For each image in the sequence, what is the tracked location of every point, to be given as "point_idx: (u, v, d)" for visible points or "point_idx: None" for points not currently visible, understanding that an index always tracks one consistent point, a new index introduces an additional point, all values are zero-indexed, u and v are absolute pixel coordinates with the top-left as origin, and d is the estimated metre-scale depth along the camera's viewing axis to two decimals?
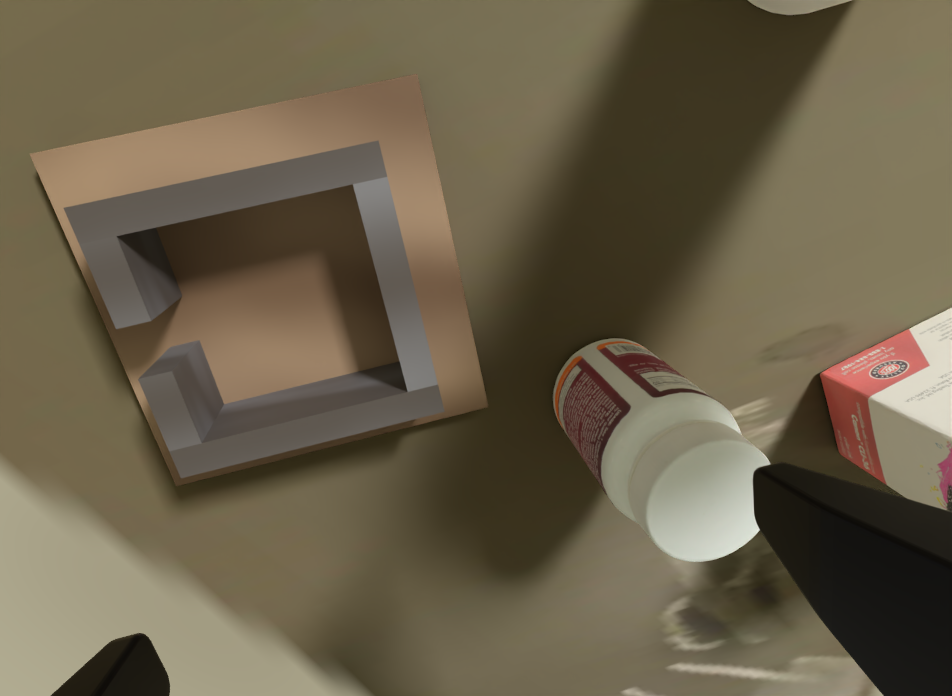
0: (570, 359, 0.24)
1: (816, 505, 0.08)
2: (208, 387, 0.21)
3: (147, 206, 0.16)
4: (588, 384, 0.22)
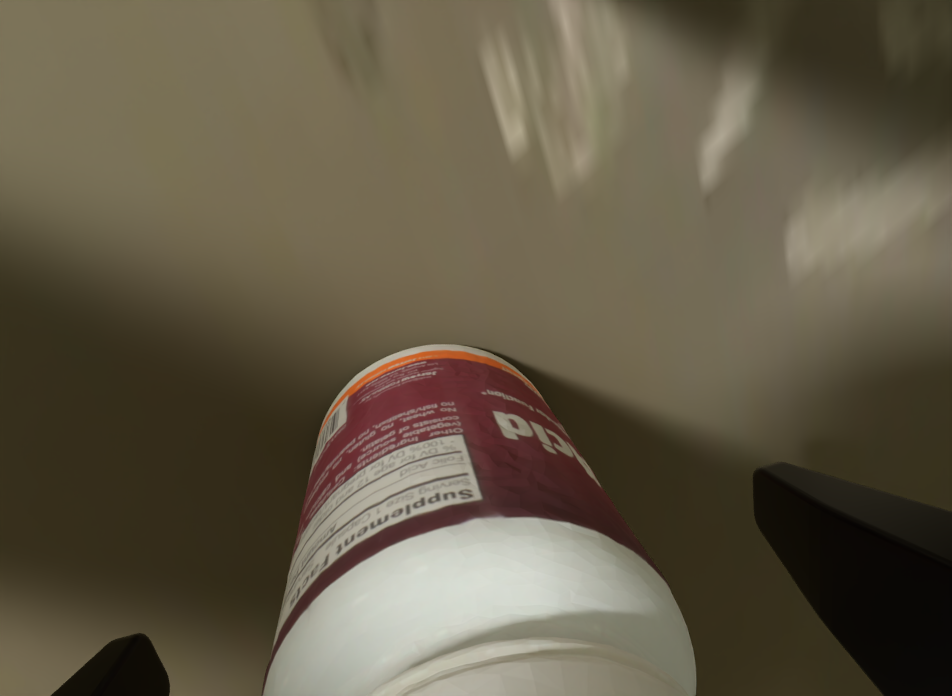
0: None
1: (816, 505, 0.08)
2: None
3: None
4: None
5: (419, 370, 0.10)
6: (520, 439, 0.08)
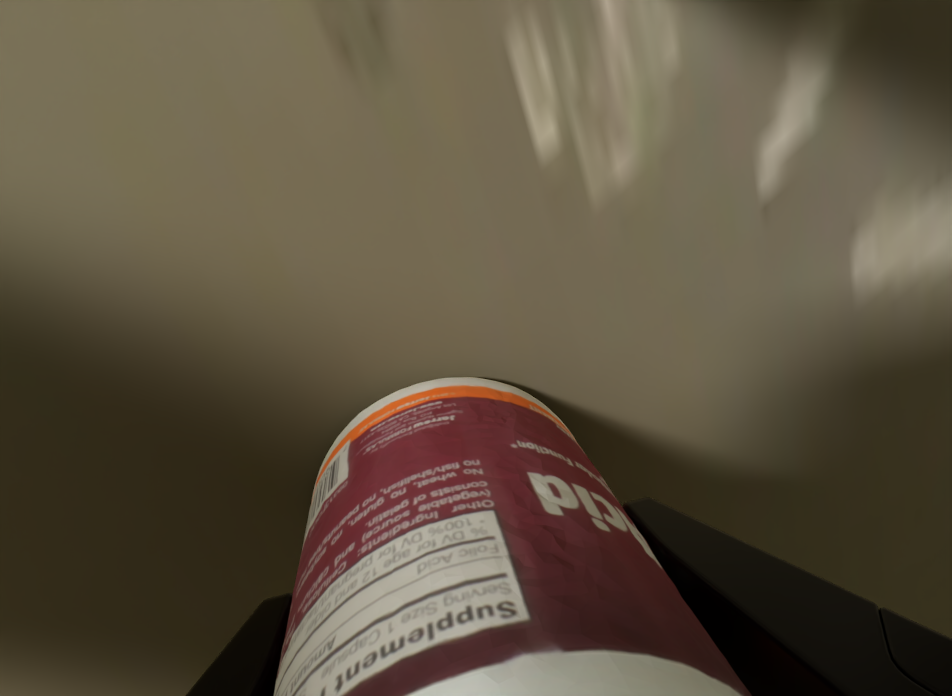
0: None
1: (662, 547, 0.07)
2: None
3: None
4: None
5: (434, 414, 0.08)
6: (565, 514, 0.06)
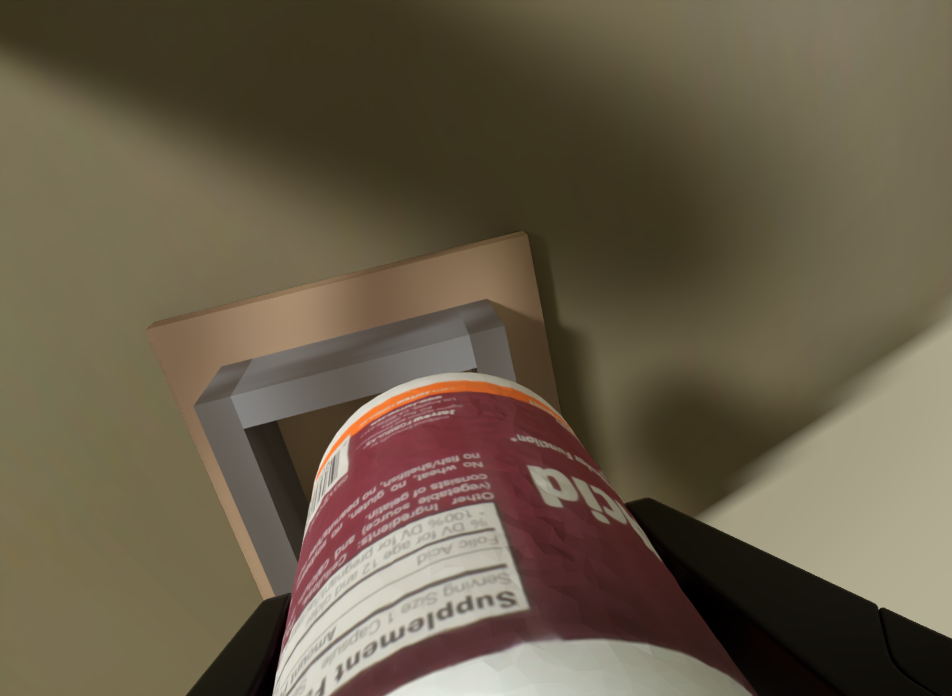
0: None
1: (662, 547, 0.07)
2: None
3: (288, 591, 0.18)
4: None
5: (434, 409, 0.08)
6: (565, 507, 0.06)
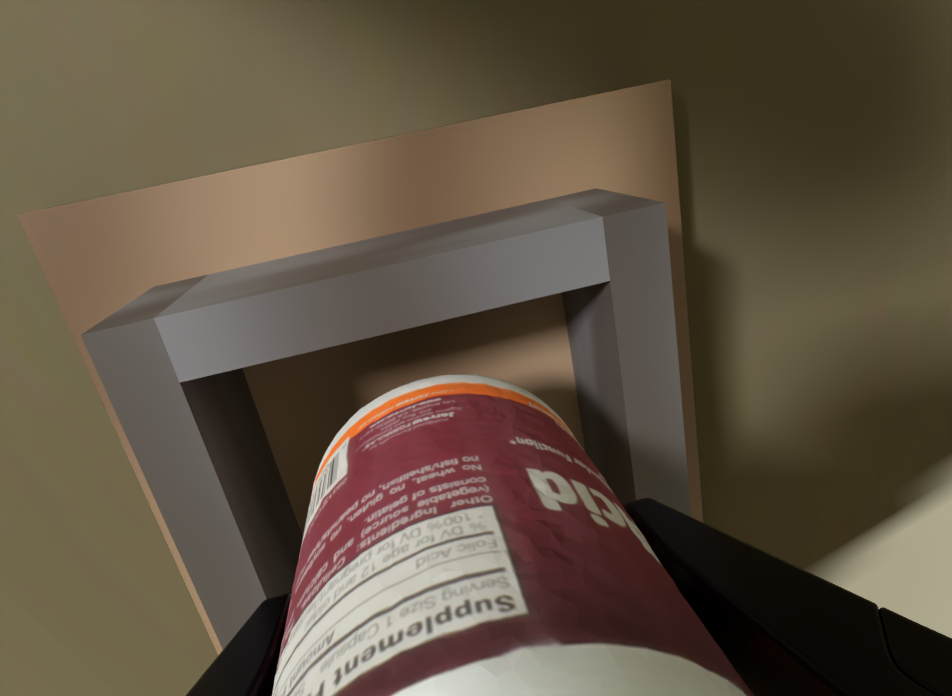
0: None
1: (662, 547, 0.07)
2: None
3: None
4: None
5: (433, 411, 0.08)
6: (563, 510, 0.06)
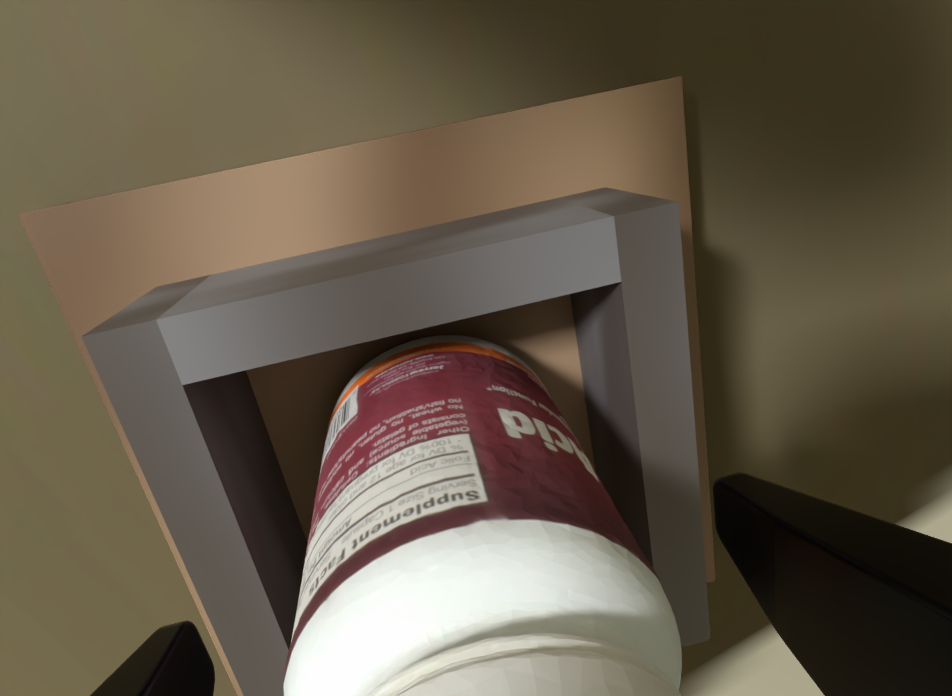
0: None
1: (769, 518, 0.08)
2: None
3: (263, 678, 0.10)
4: None
5: (426, 364, 0.10)
6: (522, 438, 0.08)
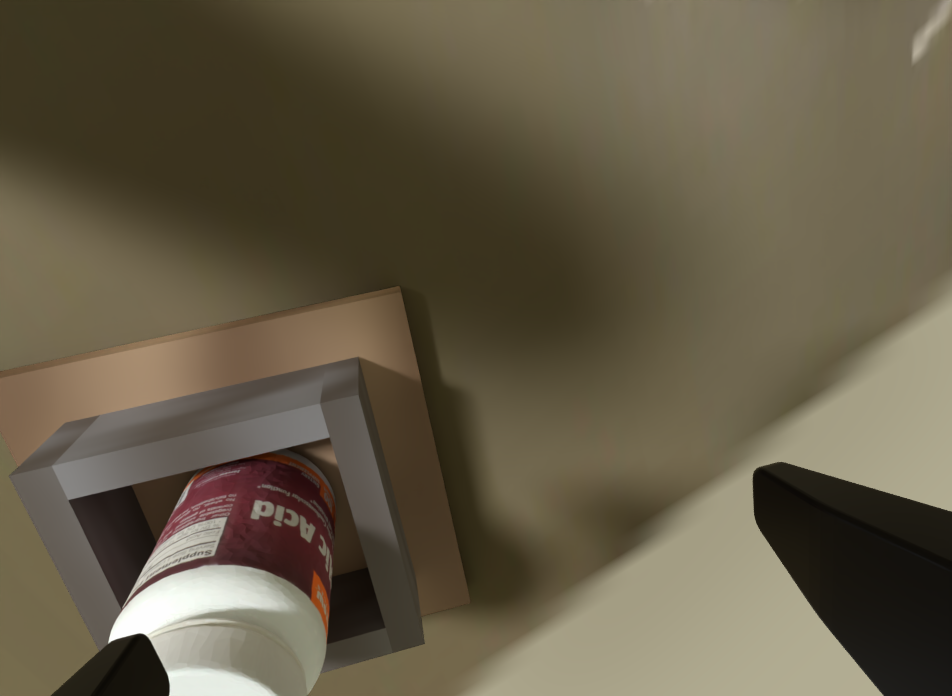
0: None
1: (816, 505, 0.08)
2: (352, 587, 0.20)
3: None
4: None
5: (231, 469, 0.17)
6: (259, 519, 0.15)
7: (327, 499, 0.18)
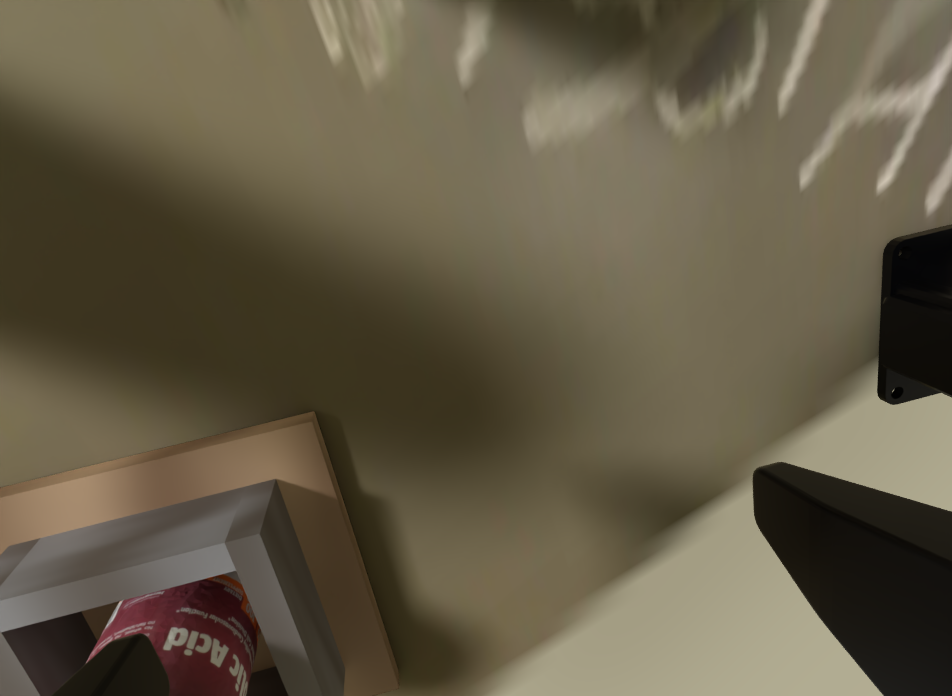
0: None
1: (816, 505, 0.08)
2: (281, 681, 0.22)
3: None
4: None
5: None
6: (171, 650, 0.17)
7: (249, 610, 0.20)
